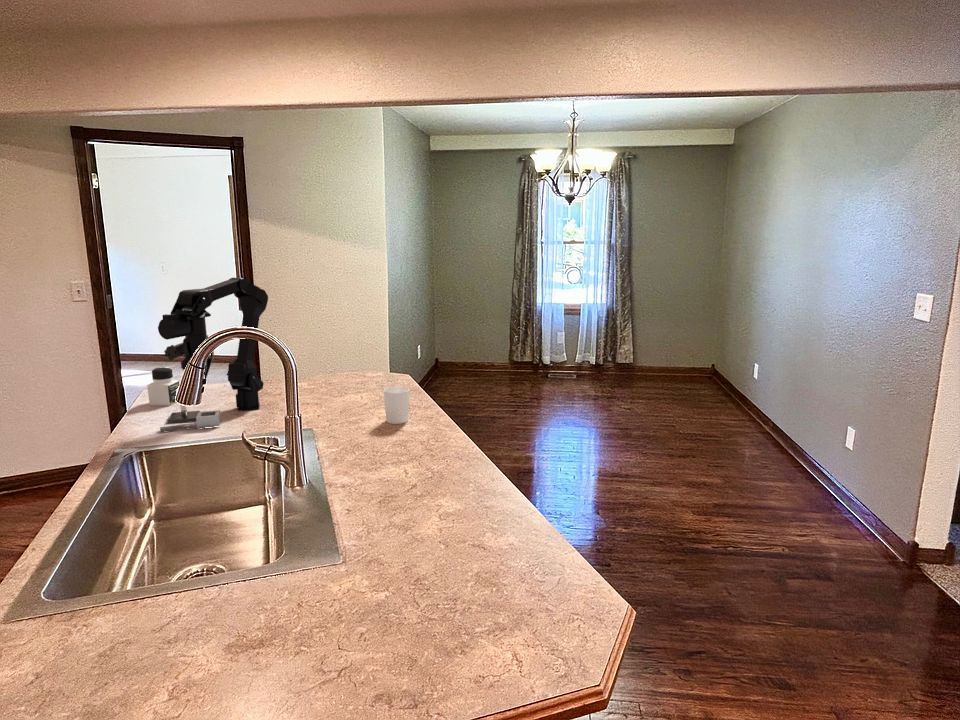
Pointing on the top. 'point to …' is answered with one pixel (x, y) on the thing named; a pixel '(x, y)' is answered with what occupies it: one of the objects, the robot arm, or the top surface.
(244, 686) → the top surface
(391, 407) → the white cup
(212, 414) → the end link
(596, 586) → the top surface
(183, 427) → the chain tail
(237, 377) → the robot arm
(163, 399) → the medicine bottle
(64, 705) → the top surface
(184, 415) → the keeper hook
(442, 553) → the top surface
